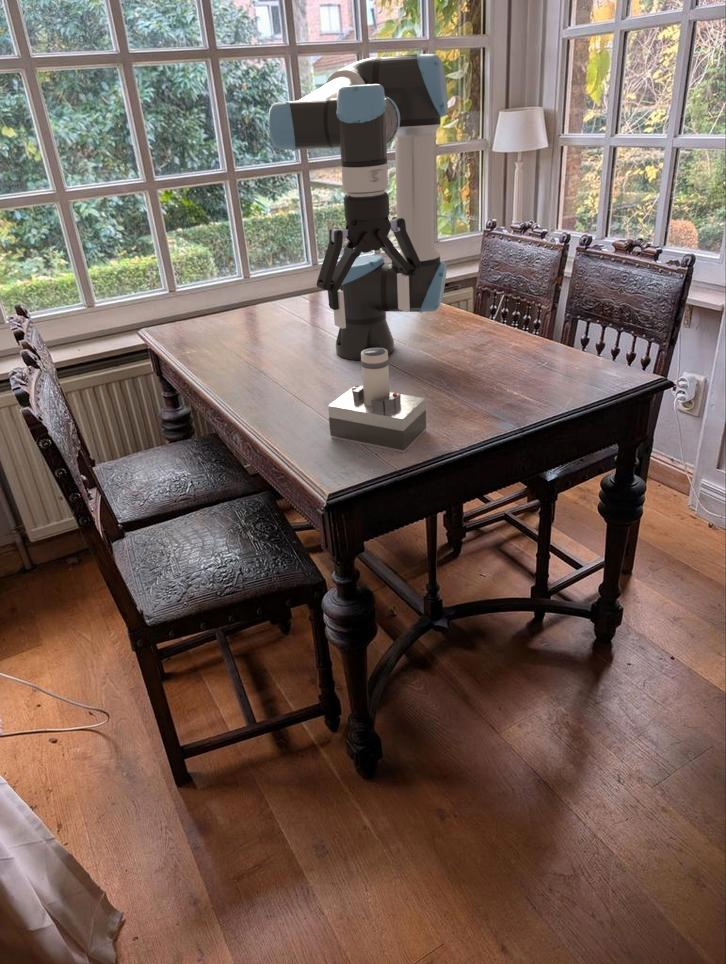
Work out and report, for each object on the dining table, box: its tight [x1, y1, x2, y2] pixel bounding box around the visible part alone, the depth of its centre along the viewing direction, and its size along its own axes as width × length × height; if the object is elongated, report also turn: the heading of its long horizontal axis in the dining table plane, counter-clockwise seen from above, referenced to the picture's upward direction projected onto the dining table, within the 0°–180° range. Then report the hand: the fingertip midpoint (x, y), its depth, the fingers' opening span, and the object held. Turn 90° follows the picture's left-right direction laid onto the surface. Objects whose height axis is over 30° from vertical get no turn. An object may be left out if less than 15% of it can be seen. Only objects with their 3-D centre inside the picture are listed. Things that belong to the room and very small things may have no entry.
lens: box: [360, 348, 391, 407], centre depth 129 cm, size 5×5×10 cm
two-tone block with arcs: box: [327, 384, 427, 454], centre depth 133 cm, size 16×10×10 cm, turn 61°
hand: (372, 318), depth 123 cm, fingers open, 13 cm apart
